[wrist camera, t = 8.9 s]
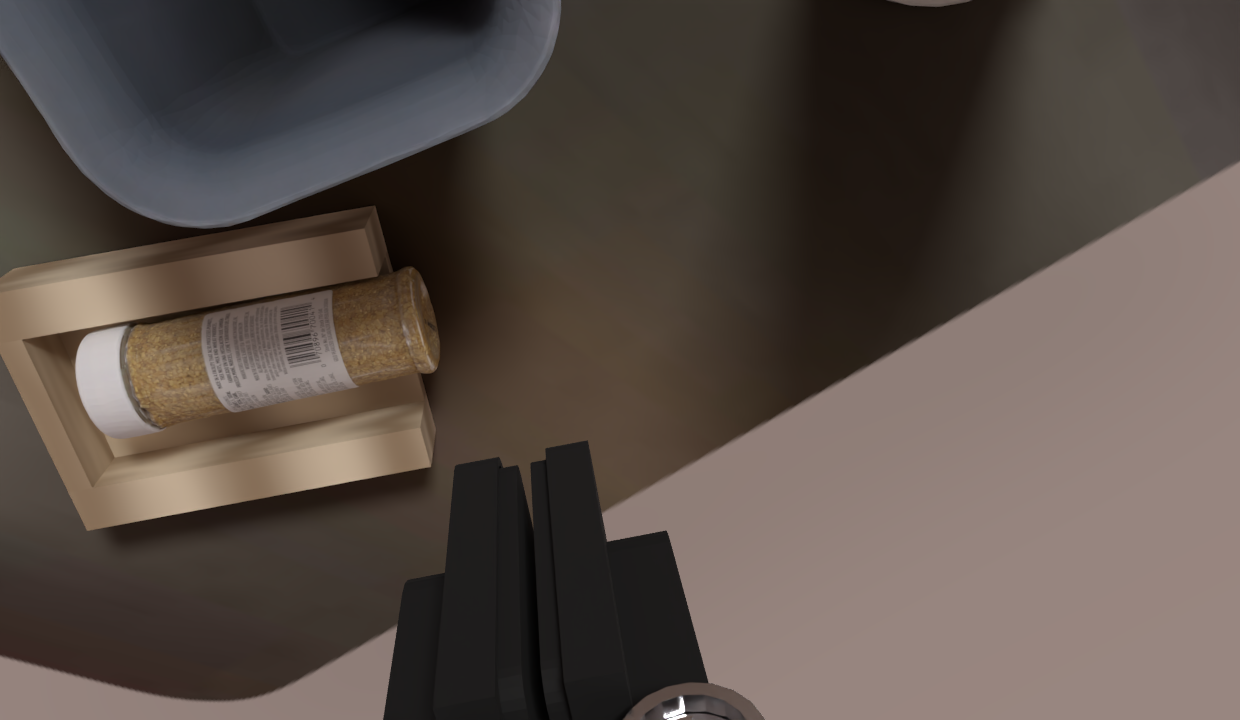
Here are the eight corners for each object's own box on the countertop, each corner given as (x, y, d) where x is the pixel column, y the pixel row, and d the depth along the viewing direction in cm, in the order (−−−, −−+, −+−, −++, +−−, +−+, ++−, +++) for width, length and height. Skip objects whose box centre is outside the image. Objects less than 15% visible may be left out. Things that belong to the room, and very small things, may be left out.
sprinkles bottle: (424, 260, 40) (112, 323, 39) (408, 269, 35) (55, 340, 35) (448, 362, 41) (143, 425, 40) (435, 383, 36) (92, 455, 36)
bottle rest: (375, 205, 39) (364, 228, 36) (435, 429, 43) (431, 466, 40) (14, 268, 38) (-28, 297, 35) (116, 488, 43) (87, 530, 40)
